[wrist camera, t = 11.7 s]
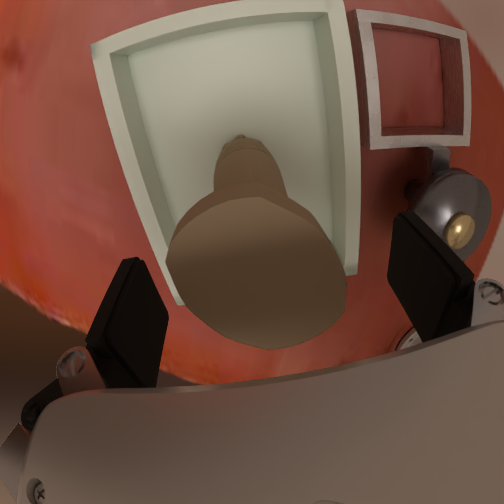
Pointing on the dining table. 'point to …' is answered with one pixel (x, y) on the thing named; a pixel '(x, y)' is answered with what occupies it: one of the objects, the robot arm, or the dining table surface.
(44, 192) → the dining table surface
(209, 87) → the tray
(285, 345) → the handle
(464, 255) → the bracket
